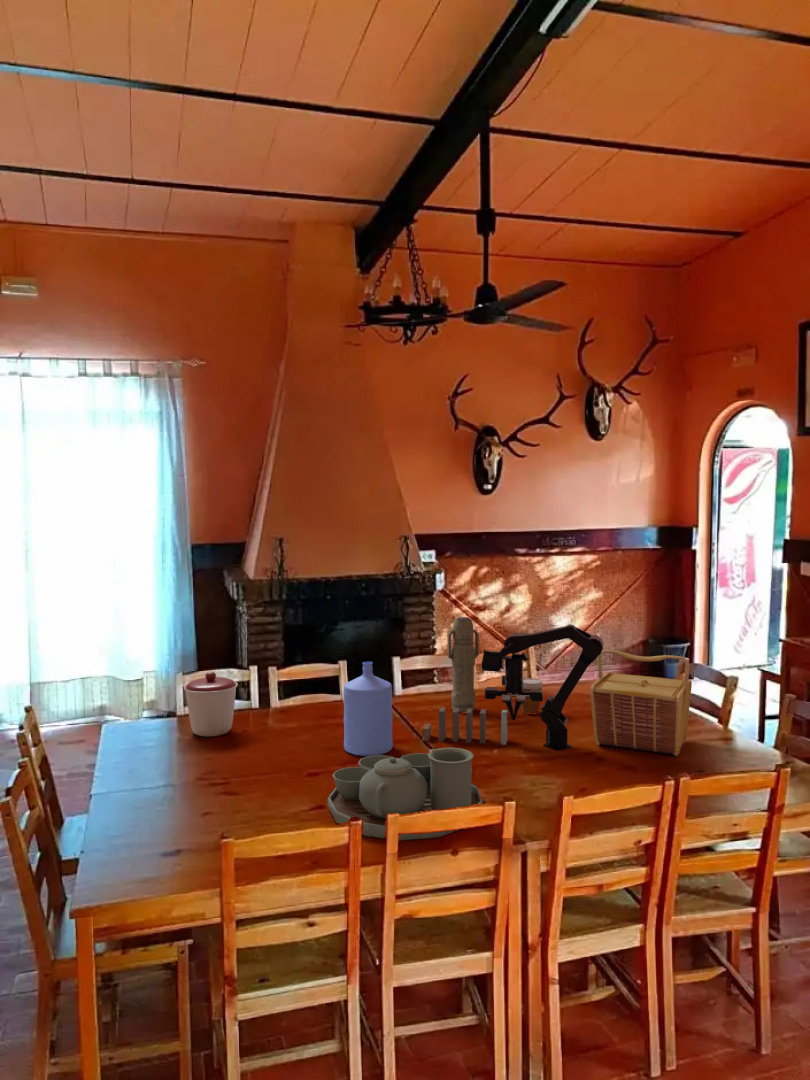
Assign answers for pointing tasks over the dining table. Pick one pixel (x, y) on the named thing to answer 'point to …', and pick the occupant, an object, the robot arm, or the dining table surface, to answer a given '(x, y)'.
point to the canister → (211, 704)
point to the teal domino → (504, 727)
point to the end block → (426, 732)
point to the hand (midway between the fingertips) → (513, 719)
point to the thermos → (463, 663)
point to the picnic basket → (641, 708)
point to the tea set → (403, 788)
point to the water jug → (368, 714)
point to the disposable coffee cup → (529, 704)
